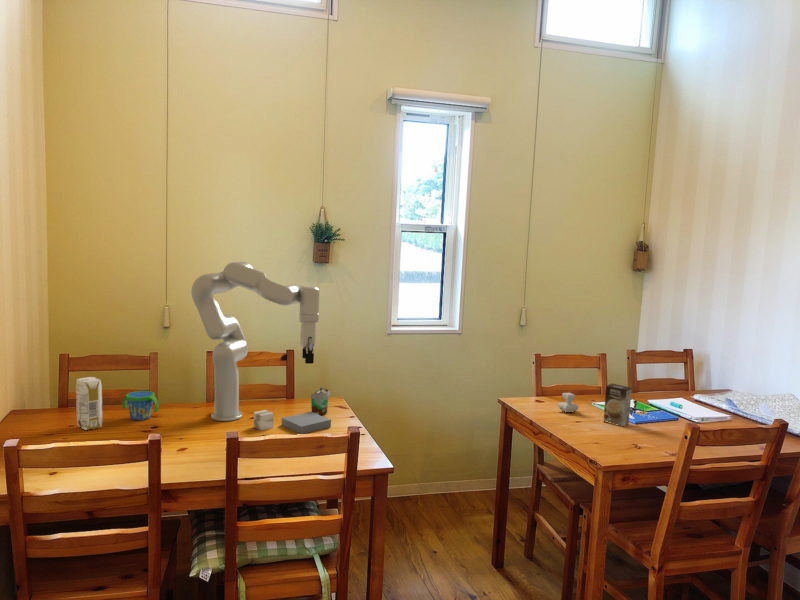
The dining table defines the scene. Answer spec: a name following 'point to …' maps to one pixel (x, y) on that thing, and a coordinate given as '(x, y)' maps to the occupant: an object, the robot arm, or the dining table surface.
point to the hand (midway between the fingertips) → (307, 360)
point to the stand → (306, 422)
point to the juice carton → (89, 403)
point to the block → (263, 420)
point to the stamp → (568, 403)
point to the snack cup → (140, 404)
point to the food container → (320, 401)
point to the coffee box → (617, 404)
